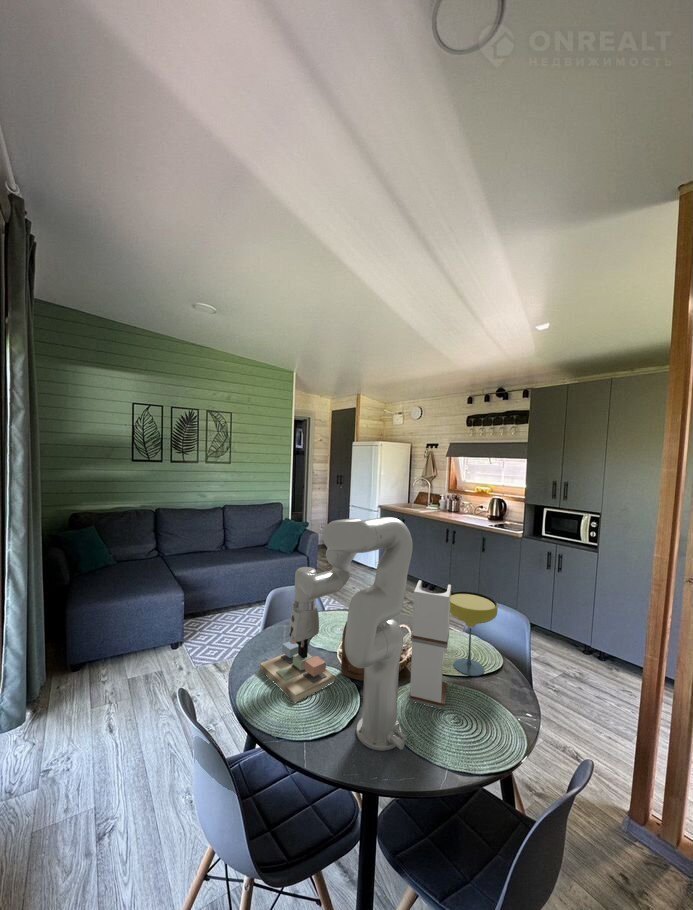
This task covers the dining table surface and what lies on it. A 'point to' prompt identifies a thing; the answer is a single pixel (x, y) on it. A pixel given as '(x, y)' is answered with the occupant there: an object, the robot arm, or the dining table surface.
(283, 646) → the grey square block
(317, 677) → the wooden sorting board
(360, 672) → the dark brown curved piece
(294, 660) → the sage button
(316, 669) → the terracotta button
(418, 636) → the white square pillar
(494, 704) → the dining table surface
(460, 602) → the cocktail glass
